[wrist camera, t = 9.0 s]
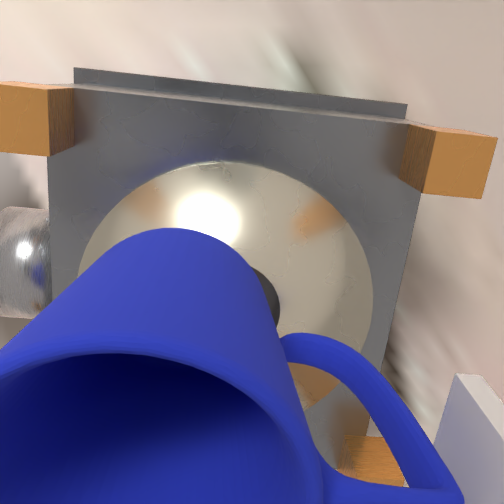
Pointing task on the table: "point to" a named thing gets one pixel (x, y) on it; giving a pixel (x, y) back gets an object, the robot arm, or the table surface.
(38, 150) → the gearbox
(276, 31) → the table surface
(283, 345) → the mug
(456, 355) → the table surface
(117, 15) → the table surface
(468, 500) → the robot arm
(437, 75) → the table surface
